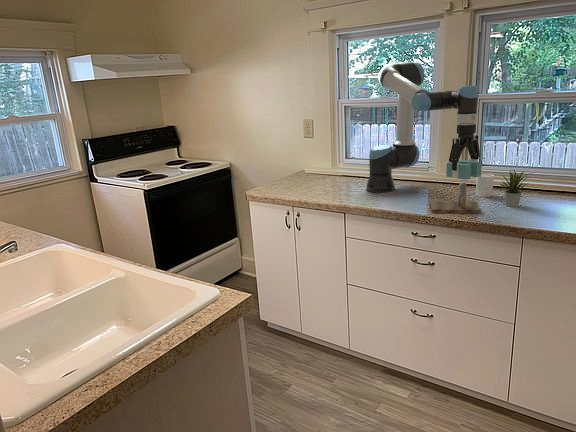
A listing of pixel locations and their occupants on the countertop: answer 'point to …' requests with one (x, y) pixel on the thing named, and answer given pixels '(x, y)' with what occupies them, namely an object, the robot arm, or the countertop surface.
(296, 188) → the countertop surface
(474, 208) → the baseplate
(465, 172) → the teal notched block
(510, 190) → the house plant
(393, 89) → the robot arm
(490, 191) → the white cup
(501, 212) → the countertop surface
